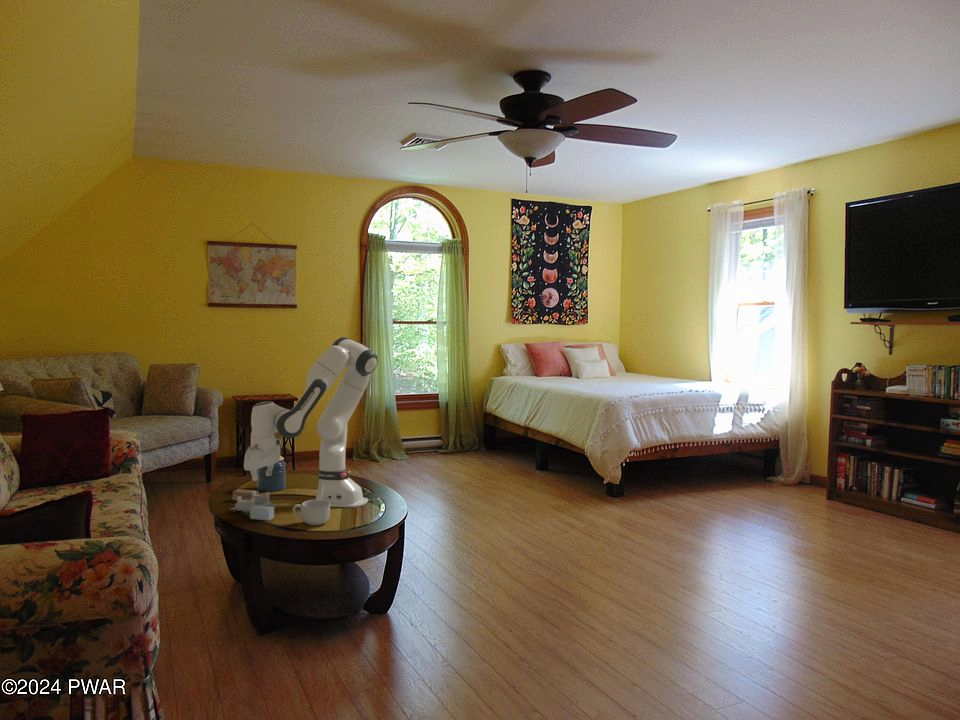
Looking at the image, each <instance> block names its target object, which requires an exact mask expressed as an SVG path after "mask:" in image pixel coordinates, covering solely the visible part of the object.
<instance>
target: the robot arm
mask: <svg viewBox="0 0 960 720" xmlns="http://www.w3.org/2000/svg"><path fill="white" fill-rule="evenodd" d="M378 364H379V361H378V355H377V354H376V353H375V352H374V351H373V350H372V349H369V348H368V347H367V346H365V345H364V344H362V343H359V342H357V341H355V340H352V339H351V338H349V337H345V336H341V337H339V338H337V339H336V340H334V342H333V343H332V345H331V346H330V347H328V348H327V349H326V350H325V351H324V352H322V354H321V355H320V356H319V357H318V358H317V360H316V361H315V362H314V363H313V365H311V367H310V369H309V370H308V373H307V375H306V388H305V390H304V392H303V394H301V396H300V398H299V400H298V401H297V402H296V403H295V405H294V406H293V407H292V408H291V409H289V408H285V407H282V406H280V405H279V404H276V403H274V401H271V400H270V401H269V400H267V401H261V402H258V403H255V404H254V405H253V407H252V409H251V415H250V416H251V417H250V426H251V433H250V446H248V447H247V449H246V451H245V454H244V460H243V468H244V471H249V472H250V474H251V477H252V478H251V481H252V482H257V480H258V476H257V471H258V469H259V468H262V467H265V466H267V467H268V468H267V471H266V476H271V475H272V469H273V467H274V464H275V463H278V462H279V460H280V455H281V446H280V445H282V440H281V438H280V439H279V438H276V437H275V434H276V433H278V434H279V435H280V436H282V437H283V438H285V439H295V438H296V437H299V436H300V435H301V434H302V432H303V431H304V429H305V424H306V421H307V419H308V417H309V415H310V414H311V413H312V411H313V410H314V408H315V407H316V405H317V404H318V402H319V401H320V399H321V398H322V397H323V396H324V395H325V393H326V392H327V391H328V390H329V389H330V388H331V387H332V386H333V385H334V383H335V382H336V381H337V380H338V379H339V377H340V376H341V375H342V372H344V370H345V369H346V367H347V369H346V371H345V372H344V374H343V375H342V378H341V380H340V382H339V384H338V386H337V388H336V389H335V391H334V393H333V395H332V396H331V399H330V401H329V402H328V404H327V405H326V407H325V409H324V411H323V413H322V414H321V415H320V418H319V420H318V422H317V424H316V425H317V426H316V429H317V432H318V435H319V436H320V437H321V440H320V447H319V456H318V457H319V459H318V460H319V462H318V463H319V464H318V465H319V469H318V473H317V479H318V488H317V494H316V496H315V497H316V498H315V500H326V501H329V502H330V503H331V504H330V508H331V507H332V508H358V507H361V506H364V505H365V504H367V503H368V501H369V499H368V498H367V497H364V495H363V490H362V487H361V486H360V485H359V484H358V483H356V482H355V481H354V480H353V479H351V478H350V474H351V470H349V471H348V470H347V468H346V449H347V437H348V424H349V423H348V422H349V420H350V419H351V417H352V416H353V414H354V412H355V410H356V408H357V406H358V405H359V403H360V400H361V399H362V397H363V395H364V392H365V391H366V388H367V387H368V384H369V381H370V379H371V375H372V373H373V372H374V371H375V370H376V368H377V367H378Z"/></svg>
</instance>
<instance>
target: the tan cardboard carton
mask: <svg viewBox="0 0 960 720" xmlns="http://www.w3.org/2000/svg"><path fill="white" fill-rule="evenodd" d="M252 491H254V490H253V489H252V490H249V489H239V488H237V489H235V490H233V491H232V501H233V500H237V497H241V501H244V500H251V498H252ZM255 491H256V495H259V490H255Z"/></svg>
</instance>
